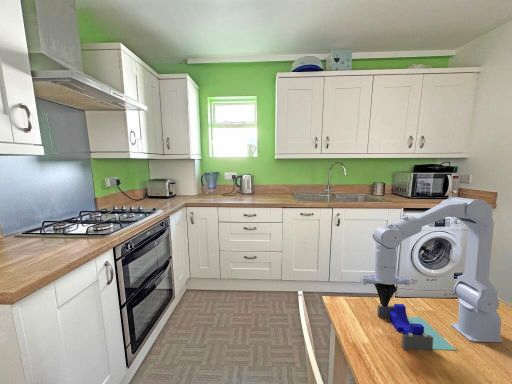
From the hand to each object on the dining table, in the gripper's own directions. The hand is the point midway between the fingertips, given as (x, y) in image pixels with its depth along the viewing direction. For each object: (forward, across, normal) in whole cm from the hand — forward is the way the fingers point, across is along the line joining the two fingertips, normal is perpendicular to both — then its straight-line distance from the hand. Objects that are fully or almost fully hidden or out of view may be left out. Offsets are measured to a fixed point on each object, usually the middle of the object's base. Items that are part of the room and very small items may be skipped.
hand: (383, 305), depth 73 cm
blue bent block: (+9, -7, 0) cm, 11 cm away
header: (+9, -6, 0) cm, 11 cm away
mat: (+9, -13, 0) cm, 16 cm away
